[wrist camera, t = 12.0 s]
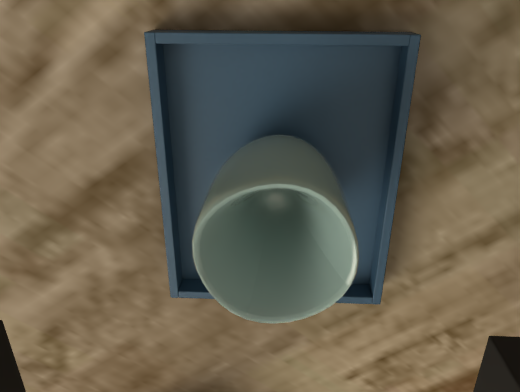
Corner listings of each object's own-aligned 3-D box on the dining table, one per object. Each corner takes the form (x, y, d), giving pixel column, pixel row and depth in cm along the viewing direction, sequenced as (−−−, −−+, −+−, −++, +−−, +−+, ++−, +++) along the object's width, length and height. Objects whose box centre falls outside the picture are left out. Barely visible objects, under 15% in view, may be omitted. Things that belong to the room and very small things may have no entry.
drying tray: (411, 31, 25) (421, 34, 23) (374, 287, 33) (380, 304, 31) (153, 29, 26) (143, 32, 24) (176, 281, 33) (170, 297, 32)
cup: (351, 205, 29) (382, 297, 20) (248, 242, 31) (234, 342, 22) (311, 100, 27) (326, 154, 18) (199, 147, 28) (160, 218, 19)
